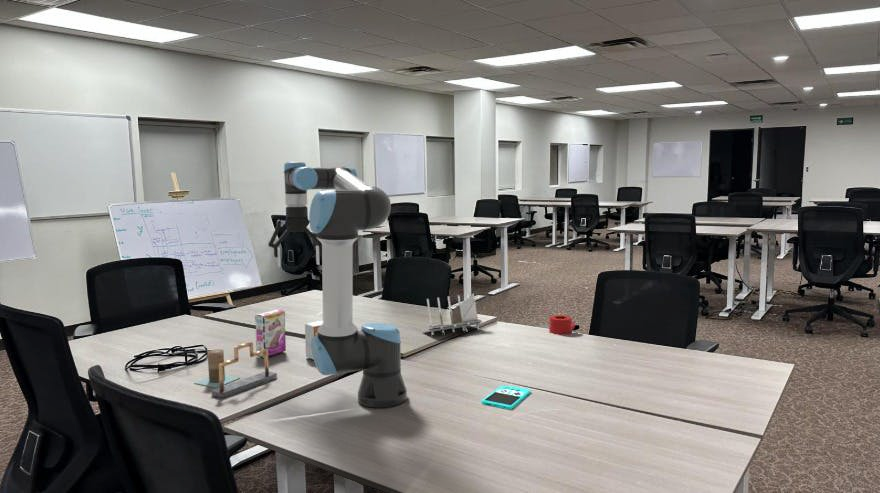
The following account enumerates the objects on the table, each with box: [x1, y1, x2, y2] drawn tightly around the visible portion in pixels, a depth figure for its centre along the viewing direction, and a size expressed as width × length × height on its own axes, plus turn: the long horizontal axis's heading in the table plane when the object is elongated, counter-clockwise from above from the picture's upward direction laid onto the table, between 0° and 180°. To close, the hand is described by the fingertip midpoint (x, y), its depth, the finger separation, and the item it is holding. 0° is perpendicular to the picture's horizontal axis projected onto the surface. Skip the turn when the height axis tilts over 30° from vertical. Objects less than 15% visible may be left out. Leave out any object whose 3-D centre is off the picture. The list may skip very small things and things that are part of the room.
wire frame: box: [211, 341, 278, 400], centre depth 192 cm, size 5×22×15 cm, turn 147°
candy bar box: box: [254, 309, 287, 359], centre depth 228 cm, size 11×5×16 cm, turn 149°
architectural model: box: [421, 289, 483, 336], centre depth 258 cm, size 17×25×18 cm
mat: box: [194, 374, 240, 389], centre depth 198 cm, size 10×10×1 cm
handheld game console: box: [481, 385, 531, 410], centre depth 181 cm, size 10×16×1 cm, turn 150°
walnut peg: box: [207, 349, 226, 383], centre depth 198 cm, size 5×5×10 cm
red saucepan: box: [548, 314, 576, 336], centre depth 260 cm, size 18×9×7 cm, turn 145°
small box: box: [304, 319, 323, 361], centre depth 224 cm, size 8×6×13 cm
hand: (298, 265), depth 211 cm, fingers open, 13 cm apart
